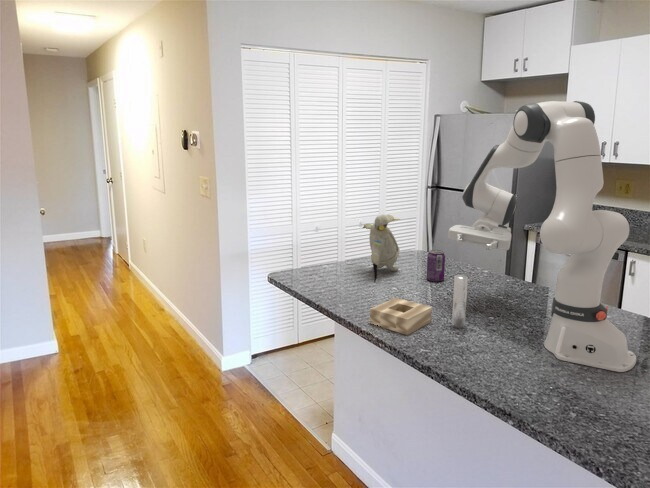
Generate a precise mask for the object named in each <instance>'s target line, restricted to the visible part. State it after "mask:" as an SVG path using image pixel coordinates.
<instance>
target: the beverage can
mask: <svg viewBox="0 0 650 488" xmlns="http://www.w3.org/2000/svg"><path fill="white" fill-rule="evenodd" d="M445 267H446V255H445V251H444V250H440V249H431V250H428V254H427V258H426V279H427V280H428V281H430V282H433V283H434V282H437V283H438V282H441V281H444V280H445V271H446V270H445V269H446V268H445Z"/></svg>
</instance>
